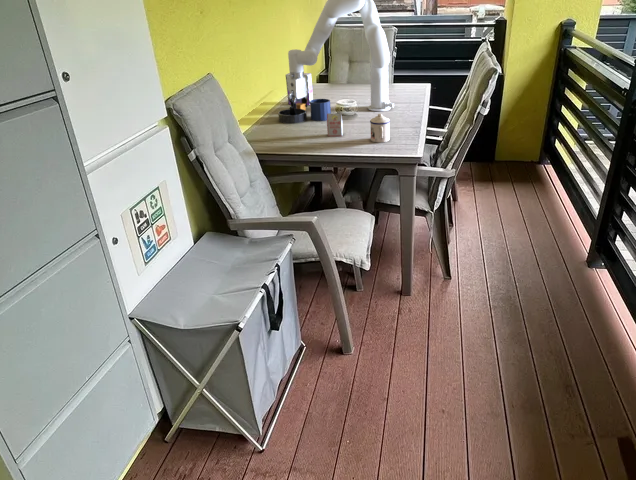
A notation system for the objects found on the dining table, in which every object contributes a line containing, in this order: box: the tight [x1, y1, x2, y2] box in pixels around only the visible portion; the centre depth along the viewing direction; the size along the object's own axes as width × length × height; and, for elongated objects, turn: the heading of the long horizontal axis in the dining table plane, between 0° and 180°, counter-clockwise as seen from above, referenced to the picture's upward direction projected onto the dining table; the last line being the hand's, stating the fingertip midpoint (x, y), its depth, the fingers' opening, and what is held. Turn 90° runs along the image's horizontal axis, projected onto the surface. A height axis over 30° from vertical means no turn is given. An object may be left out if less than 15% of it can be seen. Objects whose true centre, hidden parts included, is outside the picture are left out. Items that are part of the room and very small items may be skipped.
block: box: [296, 103, 307, 111], centre depth 292 cm, size 4×4×4 cm
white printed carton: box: [326, 113, 344, 137], centre depth 251 cm, size 4×7×10 cm, turn 84°
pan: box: [277, 108, 308, 124], centre depth 279 cm, size 15×15×4 cm
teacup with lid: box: [369, 113, 391, 144], centre depth 241 cm, size 12×9×12 cm
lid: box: [289, 105, 299, 115], centre depth 278 cm, size 11×11×6 cm
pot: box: [309, 98, 332, 122], centre depth 279 cm, size 10×10×9 cm
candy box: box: [285, 72, 314, 106], centre depth 306 cm, size 14×6×16 cm, turn 71°
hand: (299, 108), depth 292 cm, fingers open, 9 cm apart
